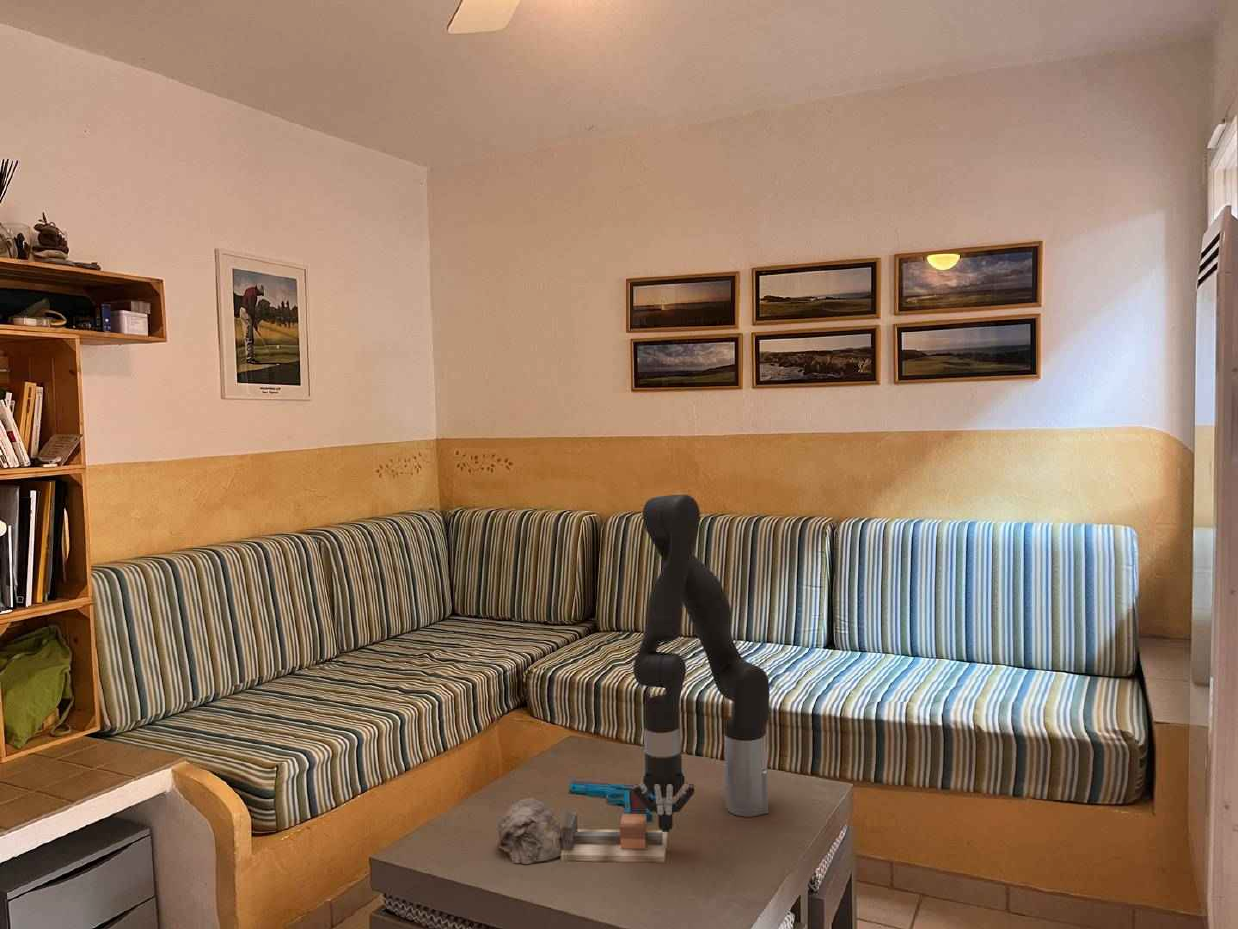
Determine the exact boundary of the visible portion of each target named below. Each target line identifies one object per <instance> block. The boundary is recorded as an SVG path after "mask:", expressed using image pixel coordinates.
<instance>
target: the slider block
mask: <svg viewBox="0 0 1238 929" xmlns="http://www.w3.org/2000/svg"><path fill="white" fill-rule="evenodd" d="M619 830H620V840H621V848H622V849H645V848H646V832H647V830H648V821H647V814H626V813H622V817H621V821H620V825H619Z"/></svg>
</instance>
